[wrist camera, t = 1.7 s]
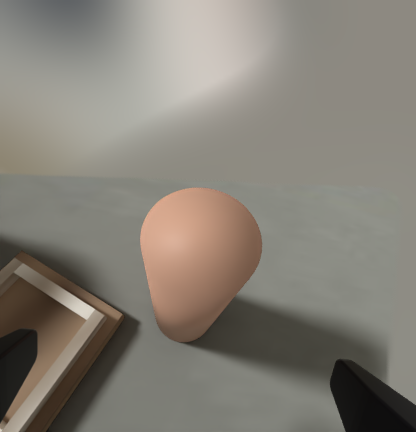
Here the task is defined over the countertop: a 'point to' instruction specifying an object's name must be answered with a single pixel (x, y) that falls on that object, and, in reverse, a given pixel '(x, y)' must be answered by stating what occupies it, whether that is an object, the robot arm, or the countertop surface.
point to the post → (197, 258)
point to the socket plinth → (51, 337)
